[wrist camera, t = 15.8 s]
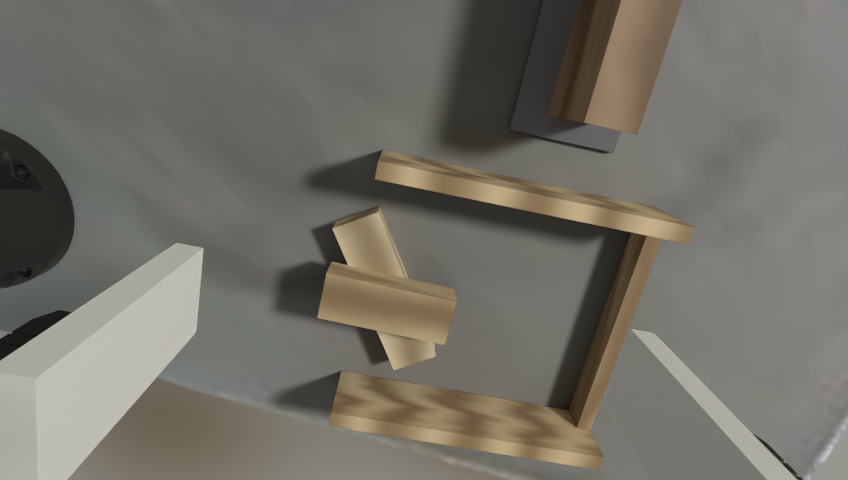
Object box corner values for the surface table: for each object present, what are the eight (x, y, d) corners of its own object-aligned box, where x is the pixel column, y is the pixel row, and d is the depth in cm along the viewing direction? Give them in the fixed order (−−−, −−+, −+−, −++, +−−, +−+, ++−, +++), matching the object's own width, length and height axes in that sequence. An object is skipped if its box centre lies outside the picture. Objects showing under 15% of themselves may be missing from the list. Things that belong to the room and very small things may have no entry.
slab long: (394, 354, 53) (393, 370, 50) (336, 220, 48) (332, 228, 45) (434, 341, 52) (435, 356, 50) (379, 204, 48) (377, 212, 45)
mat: (508, 129, 45) (510, 130, 45) (573, -119, 40) (575, -122, 39) (611, 151, 46) (613, 152, 46) (689, -88, 40) (693, -90, 40)
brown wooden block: (547, 114, 44) (584, 122, 35) (602, -84, 40) (663, -138, 30) (588, 124, 45) (636, 134, 35) (649, -72, 40) (723, -122, 31)
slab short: (442, 329, 49) (444, 344, 46) (322, 303, 48) (317, 318, 45) (454, 288, 47) (457, 302, 44) (331, 261, 46) (326, 273, 43)
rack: (339, 383, 53) (328, 425, 46) (383, 149, 46) (378, 160, 39) (576, 423, 55) (599, 469, 49) (655, 207, 48) (694, 227, 41)
